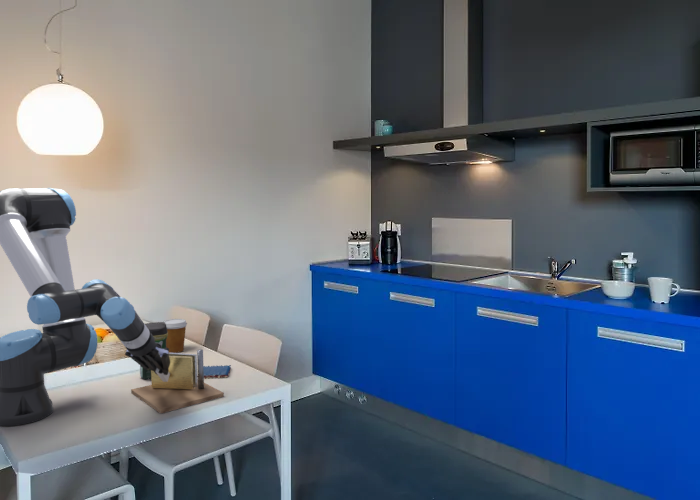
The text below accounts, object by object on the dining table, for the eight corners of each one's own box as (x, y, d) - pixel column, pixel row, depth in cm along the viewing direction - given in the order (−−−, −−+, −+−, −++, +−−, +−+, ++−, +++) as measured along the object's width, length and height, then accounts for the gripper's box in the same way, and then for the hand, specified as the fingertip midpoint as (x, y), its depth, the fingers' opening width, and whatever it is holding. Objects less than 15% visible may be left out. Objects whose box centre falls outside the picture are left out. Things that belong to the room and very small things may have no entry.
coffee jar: (168, 371, 196) (166, 319, 195) (170, 377, 189) (168, 324, 187) (139, 374, 193) (137, 321, 191) (140, 381, 185) (138, 326, 183)
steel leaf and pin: (207, 390, 177) (206, 348, 176) (202, 393, 174) (201, 351, 173) (161, 386, 181) (160, 345, 179) (156, 389, 178) (154, 348, 176)
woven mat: (201, 370, 198) (201, 365, 198) (231, 369, 199) (231, 364, 199) (196, 380, 188) (196, 374, 188) (228, 379, 189) (228, 373, 189)
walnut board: (160, 413, 158) (160, 409, 158) (131, 393, 174) (131, 389, 174) (223, 396, 171) (223, 392, 171) (191, 379, 188) (190, 375, 188)
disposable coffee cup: (183, 354, 217) (182, 324, 216) (159, 354, 217) (158, 324, 216) (190, 347, 226) (189, 318, 225) (167, 347, 226) (166, 318, 225)
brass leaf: (193, 387, 175) (192, 356, 174) (191, 389, 173) (190, 357, 172) (153, 386, 176) (152, 355, 175) (151, 387, 175) (150, 356, 174)
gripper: (110, 349, 153) (142, 388, 171) (154, 351, 151) (183, 389, 169) (119, 325, 158) (150, 365, 176) (163, 327, 156) (190, 367, 174)
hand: (166, 377), depth 173 cm, fingers closed
